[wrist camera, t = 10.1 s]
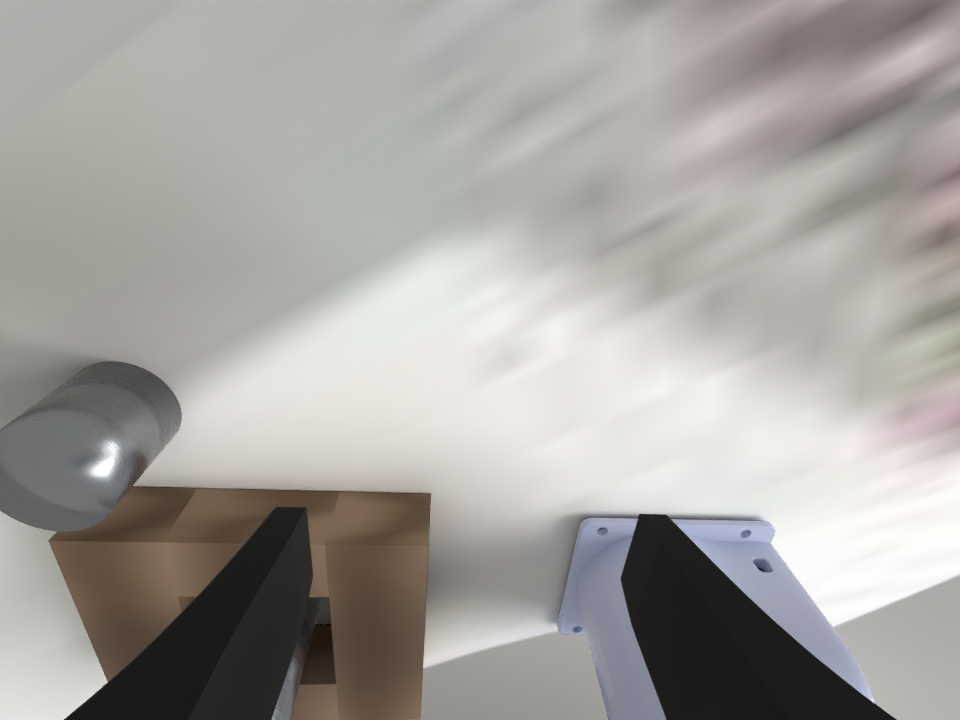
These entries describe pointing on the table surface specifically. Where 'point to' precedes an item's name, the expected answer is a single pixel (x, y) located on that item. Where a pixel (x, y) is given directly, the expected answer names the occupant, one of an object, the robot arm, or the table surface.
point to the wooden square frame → (336, 574)
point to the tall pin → (297, 663)
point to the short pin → (84, 446)
